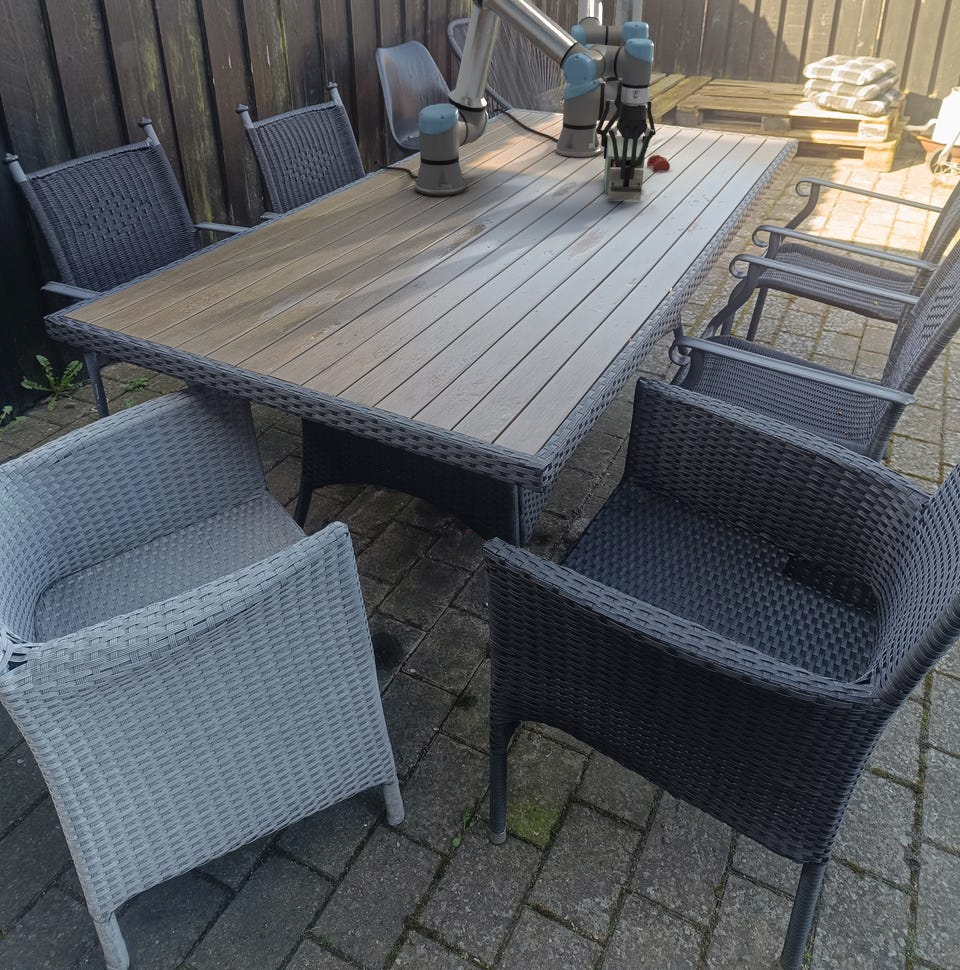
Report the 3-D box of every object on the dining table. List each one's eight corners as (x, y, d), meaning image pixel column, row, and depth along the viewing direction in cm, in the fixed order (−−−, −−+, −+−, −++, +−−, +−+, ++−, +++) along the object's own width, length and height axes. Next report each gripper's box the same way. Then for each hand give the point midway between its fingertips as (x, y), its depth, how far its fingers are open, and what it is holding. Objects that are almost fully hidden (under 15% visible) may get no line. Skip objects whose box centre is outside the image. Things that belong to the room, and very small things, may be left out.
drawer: (641, 207, 244) (644, 175, 238) (607, 206, 244) (610, 174, 239) (637, 179, 262) (640, 149, 256) (606, 178, 263) (609, 148, 257)
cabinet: (640, 194, 254) (645, 157, 248) (604, 193, 255) (608, 156, 248) (637, 172, 270) (641, 136, 263) (604, 171, 271) (607, 135, 264)
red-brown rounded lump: (661, 151, 278) (672, 157, 272) (660, 164, 281) (670, 171, 275) (646, 153, 277) (656, 159, 271) (645, 166, 280) (654, 173, 274)
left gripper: (610, 105, 227) (603, 193, 241) (659, 106, 226) (648, 195, 240) (609, 99, 233) (602, 185, 247) (657, 100, 232) (647, 187, 246)
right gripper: (591, 82, 249) (585, 160, 261) (671, 84, 247) (661, 162, 259) (591, 78, 255) (585, 154, 267) (668, 79, 253) (659, 156, 265)
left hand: (625, 190), depth 244 cm, fingers closed
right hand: (623, 158), depth 263 cm, fingers closed on cabinet, 11 cm apart
